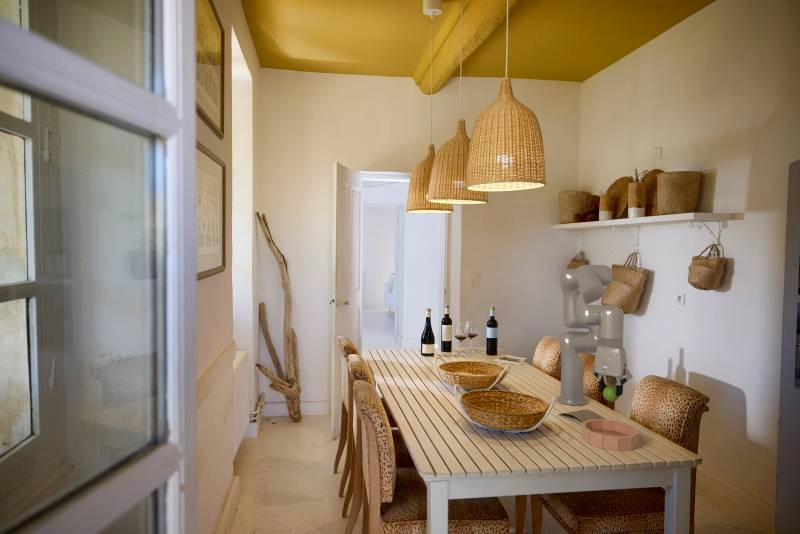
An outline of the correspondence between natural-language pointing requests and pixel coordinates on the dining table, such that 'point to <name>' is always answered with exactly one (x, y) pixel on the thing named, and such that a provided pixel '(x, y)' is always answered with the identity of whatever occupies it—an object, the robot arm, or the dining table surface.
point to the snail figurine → (609, 388)
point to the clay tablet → (585, 415)
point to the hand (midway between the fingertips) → (610, 393)
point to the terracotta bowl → (610, 434)
